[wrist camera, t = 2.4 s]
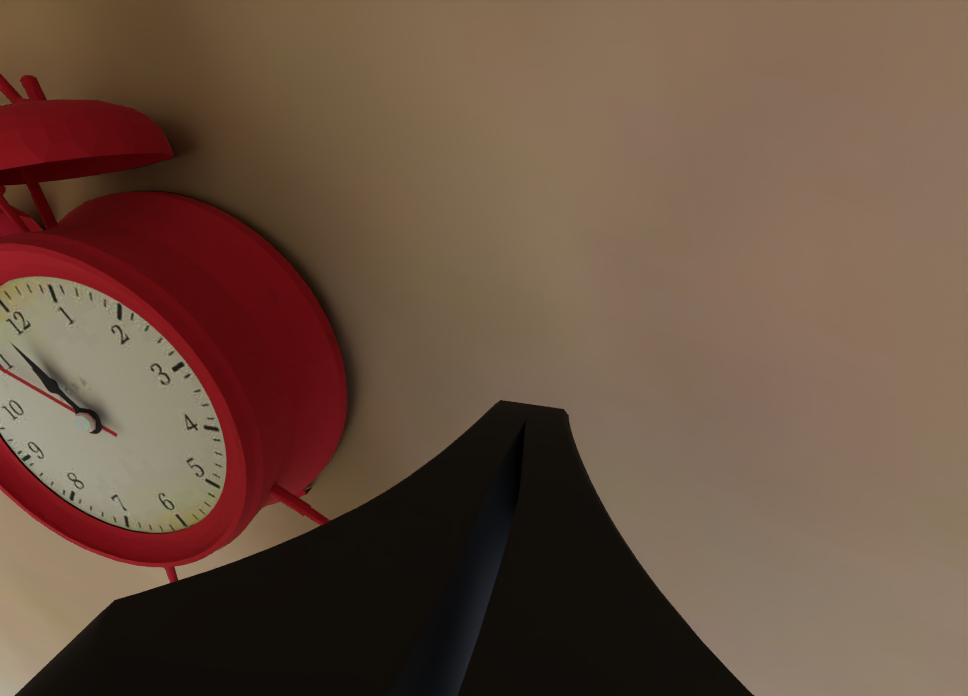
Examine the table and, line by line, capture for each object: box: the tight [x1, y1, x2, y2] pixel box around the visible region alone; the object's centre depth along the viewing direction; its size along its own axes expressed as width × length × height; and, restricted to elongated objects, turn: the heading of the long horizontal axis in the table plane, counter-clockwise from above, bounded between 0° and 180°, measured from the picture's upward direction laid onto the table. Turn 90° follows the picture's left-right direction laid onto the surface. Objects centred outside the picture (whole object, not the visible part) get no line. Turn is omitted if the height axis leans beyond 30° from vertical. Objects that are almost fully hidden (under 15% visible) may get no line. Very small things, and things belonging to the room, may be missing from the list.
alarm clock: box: [0, 74, 348, 583], centre depth 13 cm, size 10×6×15 cm
